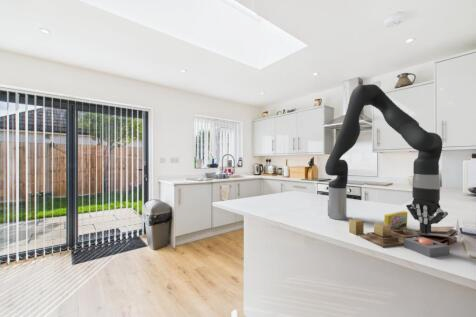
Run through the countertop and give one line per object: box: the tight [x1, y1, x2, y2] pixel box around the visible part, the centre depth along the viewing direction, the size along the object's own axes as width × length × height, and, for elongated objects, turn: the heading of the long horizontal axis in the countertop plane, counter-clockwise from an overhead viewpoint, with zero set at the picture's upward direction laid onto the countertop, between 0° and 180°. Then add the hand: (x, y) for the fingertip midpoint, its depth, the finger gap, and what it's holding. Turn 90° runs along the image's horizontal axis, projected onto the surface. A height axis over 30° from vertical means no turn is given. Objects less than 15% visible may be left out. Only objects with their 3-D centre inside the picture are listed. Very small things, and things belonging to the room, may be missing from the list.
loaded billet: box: [373, 222, 391, 238], centre depth 87 cm, size 4×4×6 cm
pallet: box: [359, 229, 421, 248], centre depth 88 cm, size 11×22×2 cm, turn 103°
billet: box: [348, 218, 365, 236], centre depth 96 cm, size 4×4×6 cm
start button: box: [419, 237, 434, 246], centre depth 77 cm, size 4×4×4 cm
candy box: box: [383, 210, 408, 230], centre depth 99 cm, size 16×2×8 cm, turn 117°
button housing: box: [403, 236, 451, 258], centre depth 77 cm, size 9×9×3 cm
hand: (425, 233), depth 78 cm, fingers closed
